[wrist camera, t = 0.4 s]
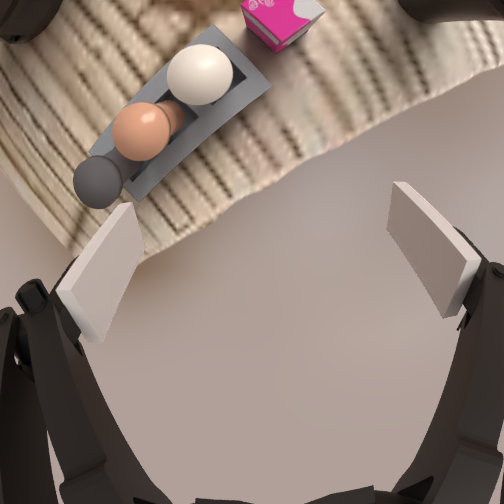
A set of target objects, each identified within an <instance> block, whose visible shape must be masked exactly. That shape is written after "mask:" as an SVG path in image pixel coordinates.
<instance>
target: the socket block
mask: <svg viewBox="0 0 504 504" xmlns="http://www.w3.org/2000/svg"><path fill="white" fill-rule="evenodd" d="M199 44H203V45H210V46H213V47H215V48H217V49H219V50H220V51H222V52H223V53H224V54H225V55H226V56H227V57H228V58H229V60H230V62H231V64H232V68H233V79H232V83H231V85H230V87H229V89H228V90H227V92H226V93H225V94H224V95H223V96H222V97H220V98H219V99H217V100H215V101H213V102H211V103H209V104H205V105H190V104H187V103H184V102H182V101H180V100H179V99H177V98H176V97H175V96H174V95H173V94H172V92H171V91H170V89H169V87H168V83H167V70H168V67H169V64H170V62H171V61H172V59H173V58H174V57H173V58H172V59H171V60H170V61H169V62H168V63H167V64H166V65H165V66H164V67H163V68H161V69H160V70H159V71H158V72H157V73H156V74H155V75H154V76H153V77H152V78H151V79H150V80H149V81H148V82H147V83H146V84H145V85H144V86H143V87H142V89H141V90H140V91H139V92H138V93H137V94H136V95H135V96H134V97H133V98H132V99H131V100H130V101H129V103H128V104H127V105H126V106H125V107H127V106H129V105H131V104H135V103H139V102H151V103H154V104H156V103H159V102H163V101H167V100H170V101H175V102H177V103H178V104H180V105H181V106H182V108H183V110H184V112H185V121H184V124H183V125H182V127H181V128H180V129H179V130H178V131H176V132H175V133H174V134H172V135H171V136H170V139H169V141H168V143H167V145H166V146H165V148H164V149H163V150H162V151H161V152H159V153H158V154H157V155H156V156H154V157H153V158H151V159H148V160H145V161H144V163H143V165H142V167H141V168H140V169H139V170H138V171H137V172H136V173H135V174H134V175H132V176H131V177H130V178H129V179H128V180H127V181H126V182H125V183H124V184H123V187H124V188H125V189H126V190H127V191H128V192H129V193H130V194H131V195H132V196H133V197H134V198H135V199H136V200H137V201H138V202H140V201H141V200H142V199H143V198H144V197H145V196H146V195H147V194H148V193H149V192H150V191H151V190H152V189H153V188H154V187H155V186H156V185H157V184H158V183H159V182H160V181H161V180H162V179H163V178H164V177H165V176H166V175H167V174H168V173H169V172H170V171H171V170H172V169H174V168H175V167H176V166H177V165H178V164H179V163H180V162H181V161H182V160H183V159H184V158H185V157H186V156H188V155H189V154H190V153H191V152H192V151H193V150H194V149H195V148H196V147H198V146H199V145H200V144H201V143H202V142H203V141H204V140H206V139H207V138H208V137H209V136H210V135H211V134H213V133H214V132H215V131H216V130H217V129H219V128H220V127H221V126H222V125H223V124H225V123H226V122H227V121H228V120H229V119H231V118H232V117H233V116H234V115H236V114H237V113H238V112H239V111H241V110H242V109H243V108H244V107H246V106H247V105H248V104H250V103H251V102H252V101H254V100H255V99H256V98H257V97H259V96H260V95H261V94H263V93H264V92H265V91H267V90H268V89H270V88H271V87H272V85H271V84H270V83H269V82H268V80H267V79H266V78H265V77H264V76H263V75H262V74H261V73H260V71H259V70H258V69H257V68H256V67H255V66H254V65H253V64H252V63H251V62H250V60H249V59H248V58H247V57H246V56H245V55H244V54H243V53H242V52H241V51H240V50H239V49H238V48H237V47H236V46H235V45H234V44H233V43H232V42H231V41H230V40H229V39H228V38H227V37H226V36H225V35H224V34H223V33H222V32H221V31H220V30H219V29H218V28H217V27H216V26H215V25H214V24H213V25H211V26H210V27H209V28H208V29H206V30H205V31H204V32H203V33H201V34H200V35H199V36H198V37H196V38H195V39H194V40H193V41H192V42H190V43H189V44H188V45H187V46H186V47H185V48H187V47H189V46H193V45H199ZM185 48H183V49H185ZM183 49H182V50H183ZM125 107H124V108H125ZM124 108H123V109H124ZM123 109H122V110H123ZM116 117H117V116H116ZM116 117H115V118H116ZM114 120H115V119H114ZM114 120H113V121H112V122H111V123H110V125H109V126H108V127H107V128H106V130H105V131H104V132H103V133H102V135H101V136H100V137H99V138H98V140H97V141H96V142H95V144H94V145H93V146H92V148H91V149H90V150H89V153H90V154H91V155H92V156H96V155H101V156H103V155H105V154H106V153H108V152H109V151H111V150H113V149H114V148H116V146H115V144H114V142H113V138H112V127H113V123H114Z"/></svg>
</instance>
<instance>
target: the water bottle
mask: <svg viewBox="0 0 504 504" xmlns="http://www.w3.org/2000/svg"><path fill="white" fill-rule="evenodd" d="M398 2H399V3H400V5H401V6H402V8H403V9H404V10H405V11H406V12H407V13H408V14H409V15H410V16H411V17H413V18H414V19H416V20H418V21H420V22H423V23H428V24H431V23H440V22H452V21H472V20H499V21H504V0H398Z"/></svg>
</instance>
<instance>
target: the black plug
mask: <svg viewBox="0 0 504 504" xmlns="http://www.w3.org/2000/svg"><path fill="white" fill-rule="evenodd" d="M143 163H144V161H134V160H131V159H128V158H126V157H125V156H123V155H122V154H121V153H120V152H119V151H118V149H117V148H114V149H113V150H111V151H109V152H108V153H106V154H105V155H103V156H101V155H96V156H92V157H90V158H88V159H86V160H85V161H83V162H82V163H80V164H79V165H78V167H77V168H76V170H75V172H74V177H73V185H74V189H75V192H76V194H77V196H78V197H79V199H80V200H81V201H82V202H83V203H84V204H85V205H87V206H89V207H91V208H94V209H104V208H106V207H108V206H110V205H111V204H112V203H113V202H114V201H115V200H116V199H117V198H118V196H119V195H120V193H121V191H122V187H123V184H124V183H125V182H126V181H127V180H128V179H129V178H130V177H131V176H132V175H134V174H135V173H136V172H137V171H138V170H139V169H140V168H141V167H142V165H143Z"/></svg>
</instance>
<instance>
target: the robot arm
mask: <svg viewBox="0 0 504 504" xmlns="http://www.w3.org/2000/svg"><path fill="white" fill-rule="evenodd" d="M61 2H62V0H0V41H1V42H3V43H6V44H21V43H25V42H27V41H29V40H31V39H33V38H34V37H35V36H37V35H38V34H39V33H40V32H41V31H42V30H43V29H44V28H45V27H46V26H47V25H48V24H49V22H50V21H51V20H52V18H53V17H54V15H55V14H56V12H57V10H58V8H59V6H60V4H61ZM387 230H388V232H389V233H390V235H391V236H392V237H393V239H394V240H395V242H396V243H397V245H398V246H399V247H400V249H401V251H402V252H403V254H404V255H405V257H406V258H407V260H408V261H409V263H410V264H411V266H412V267H413V269H414V271H415V272H416V274H417V275H418V277H419V279H420V280H421V282H422V283H423V285H424V287H425V288H426V290H427V292H428V293H429V295H430V297H431V298H432V300H433V302H434V304H435V305H436V307H437V309H438V311H439V312H440V314H441V316H442V318H447V317H451V316H456V315H457V314H458V312H459V310H460V308H461V306H462V304H463V305H464V307H465V308H466V310H467V311H466V313H465V315H464V317H463V319H462V320H461V322H460V324H459V326H458V328H457V331H459V329H460V328H461V331H460V335H459V339H458V343H457V347H456V351H455V354H454V358H453V361H452V365H451V368H450V372H449V375H448V378H447V381H446V385H445V387H444V390H443V393H442V396H441V398H440V401H439V404H438V407H437V409H436V412H435V414H434V417H433V419H432V422H431V424H430V426H429V429H428V431H427V433H426V435H425V438H424V440H423V442H422V444H421V446H420V448H419V450H418V453H417V455H416V457H415V459H414V461H413V462H412V464H411V465H410V467H409V468H408V469H407V471H406V472H405V473H404V474H403V475H402V477H401V478H400V479H399V481H398V482H397V484H396V485H395V487H394V488H393V490H392V492H387V491H377V490H374V487H373V485H372V486H368V487H364V488H360V489H355V490H350V491H345V492H340V493H334V494H330V495H328V496H325V497H322V498H319V499H317V500H314V501H311V502H308V503H306V504H488V503H489V501H490V499H491V496H492V493H493V491H494V489H495V486H496V483H497V480H498V478H499V475H500V472H501V468H502V464H503V454H502V453H501V452H499V451H498V450H497V444H498V439H499V436H500V432H501V428H502V424H503V420H504V266H503V265H502V264H500V263H496V262H490V263H489V261H488V260H487V259H486V258H485V257H484V255H482V253H481V252H480V251H479V250H478V249H477V248H476V246H474V245H473V243H472V242H471V241H470V240H469V239H468V238H467V237H466V236H465V234H464V233H463V232H461V231H460V230H458V229H457V228H455V227H454V226H452V225H450V223H449V222H448V221H447V220H446V219H445V218H444V217H443V216H442V215H441V214H440V213H439V212H438V211H437V210H436V209H435V208H434V207H432V205H430V204H429V203H428V202H427V201H426V200H425V199H424V198H423V197H422V196H421V195H420V194H419V193H418V192H417V191H415V190H414V189H413V188H412V187H411V186H410V185H409V184H407V183H406V182H393V188H392V196H391V205H390V211H389V217H388V224H387ZM145 248H146V246H145V243H144V239H143V236H142V233H141V230H140V227H139V223H138V220H137V217H136V213H135V210H134V207H133V203H132V202H128V203H122V204H119V205H118V206H117V207H116V208H115V210H114V211H113V212H112V213H111V215H110V216H109V217H108V218H107V220H106V221H105V222H104V223H103V225H102V226H101V227H100V228H99V230H98V231H97V232H96V234H95V235H94V236H93V237H92V239H91V240H90V241H89V243H88V244H87V245H86V247H85V248H84V250H83V251H82V252H81V254H80V255H79V256H77V257H76V258H75V259H74V260H73V261H72V262H71V263H70V264H69V266H68V267H67V269H66V271H65V272H64V273H63V274H62V277H61V278H60V279H59V280H58V282H57V283H56V285H55V286H54V288H53V289H52V291H51V292H50V294H48V292H47V290H46V288H45V287H44V285H43V283H42V281H41V280H40V279H32V280H30V281H28V282H26V283H25V284H24V285H22V286H21V288H20V289H19V290H18V291H17V293H16V296H15V298H16V300H17V302H18V303H19V305H20V306H21V308H22V309H23V311H24V314H21V315H17V314H16V313H15V311H14V310H13V308H12V307H6V308H4V309H1V310H0V504H58V499H57V495H56V490H55V485H54V480H53V475H52V469H51V462H50V455H49V448H48V439H47V430H48V433H49V436H50V440H51V442H52V445H53V448H54V451H55V454H56V457H57V459H58V462H59V464H60V467H61V470H62V472H63V474H64V482H63V483H61V484H60V486H59V491H60V495H61V498H62V500H63V502H64V504H172V502H171V501H170V500H169V499H168V497H167V496H166V495H165V494H164V493H163V492H162V491H161V490H160V489H159V488H157V487H156V486H155V485H154V483H153V482H152V481H151V480H150V478H149V477H148V475H147V474H146V472H145V471H144V469H143V468H142V466H141V465H140V463H139V461H138V460H137V458H136V457H135V455H134V453H133V452H132V450H131V448H130V447H129V445H128V443H127V441H126V440H125V438H124V436H123V434H122V432H121V431H120V429H119V427H118V425H117V423H116V421H115V419H114V417H113V415H112V413H111V411H110V409H109V408H108V406H107V403H106V402H105V399H104V397H103V395H102V393H101V391H100V388H99V386H98V384H97V382H96V379H95V377H94V374H93V372H92V370H91V367H90V365H89V363H88V360H87V357H86V355H85V352H84V349H83V347H82V345H81V343H80V342H79V340H78V338H79V336H80V334H81V333H82V334H83V335H84V337H85V339H86V340H87V341H88V342H95V343H103V341H104V338H105V336H106V334H107V332H108V329H109V327H110V324H111V322H112V319H113V317H114V315H115V312H116V310H117V308H118V305H119V303H120V301H121V299H122V296H123V294H124V292H125V290H126V287H127V285H128V283H129V281H130V279H131V277H132V275H133V272H134V271H135V268H136V266H137V264H138V262H139V260H140V258H141V256H142V254H143V252H144V250H145ZM14 355H15V356H16V358H17V359H18V365H17V364H16V362H15V359H14ZM192 504H252V503H247V502H243V501H235V500H213V499H212V500H211V499H199V498H196V501H195V503H192ZM500 504H504V474H503V481H502V489H501V499H500Z"/></svg>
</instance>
